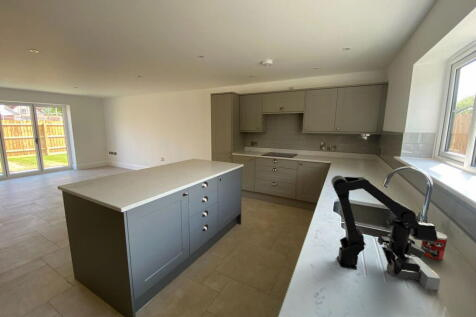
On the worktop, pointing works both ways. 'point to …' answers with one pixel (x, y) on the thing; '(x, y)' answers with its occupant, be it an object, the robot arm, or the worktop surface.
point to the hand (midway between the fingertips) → (393, 270)
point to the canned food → (435, 247)
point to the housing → (427, 275)
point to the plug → (405, 273)
